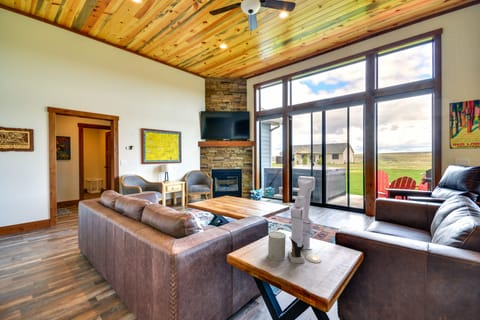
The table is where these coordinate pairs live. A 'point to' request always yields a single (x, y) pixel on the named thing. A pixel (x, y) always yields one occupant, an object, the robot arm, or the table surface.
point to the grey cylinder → (276, 246)
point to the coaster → (313, 258)
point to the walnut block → (294, 252)
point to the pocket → (295, 258)
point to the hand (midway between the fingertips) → (296, 253)
